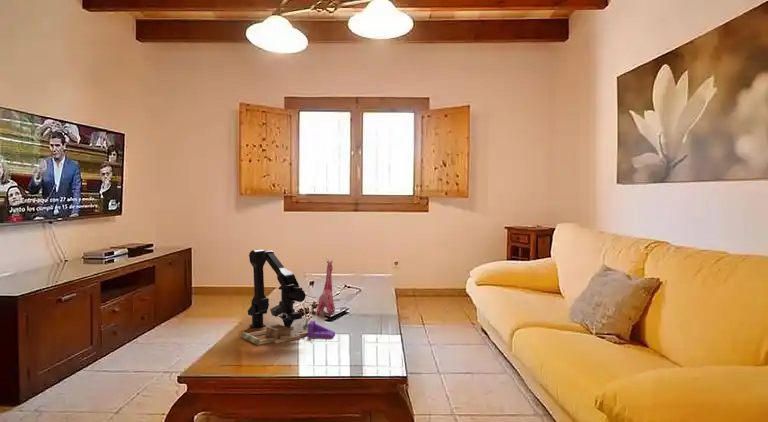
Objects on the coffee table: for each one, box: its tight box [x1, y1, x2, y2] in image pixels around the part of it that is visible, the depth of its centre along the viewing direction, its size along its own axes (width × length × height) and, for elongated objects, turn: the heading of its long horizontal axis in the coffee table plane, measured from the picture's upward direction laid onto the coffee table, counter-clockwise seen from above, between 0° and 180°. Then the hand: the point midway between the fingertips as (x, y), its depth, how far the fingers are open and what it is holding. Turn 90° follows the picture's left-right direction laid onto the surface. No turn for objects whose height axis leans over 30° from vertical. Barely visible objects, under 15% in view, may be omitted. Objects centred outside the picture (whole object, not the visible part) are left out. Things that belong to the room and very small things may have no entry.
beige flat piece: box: [241, 325, 308, 346], centre depth 281 cm, size 19×28×2 cm
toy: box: [316, 258, 336, 316], centre depth 334 cm, size 9×26×30 cm, turn 174°
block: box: [265, 323, 291, 340], centre depth 283 cm, size 10×7×4 cm
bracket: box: [307, 320, 336, 339], centre depth 283 cm, size 12×7×7 cm, turn 83°
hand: (287, 330), depth 286 cm, fingers closed
